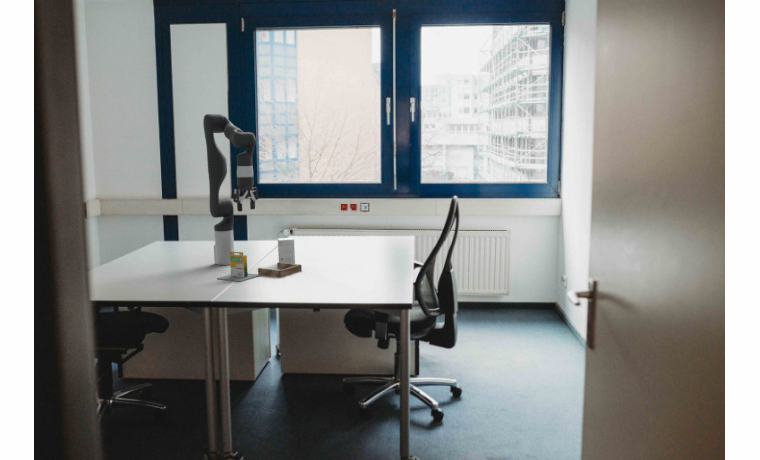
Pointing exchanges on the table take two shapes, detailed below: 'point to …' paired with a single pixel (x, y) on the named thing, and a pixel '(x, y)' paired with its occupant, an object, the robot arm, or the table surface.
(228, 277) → the slate mat
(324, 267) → the table surface
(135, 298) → the table surface
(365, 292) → the table surface
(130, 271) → the table surface
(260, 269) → the walnut bay
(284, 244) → the small box
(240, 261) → the crayon box
